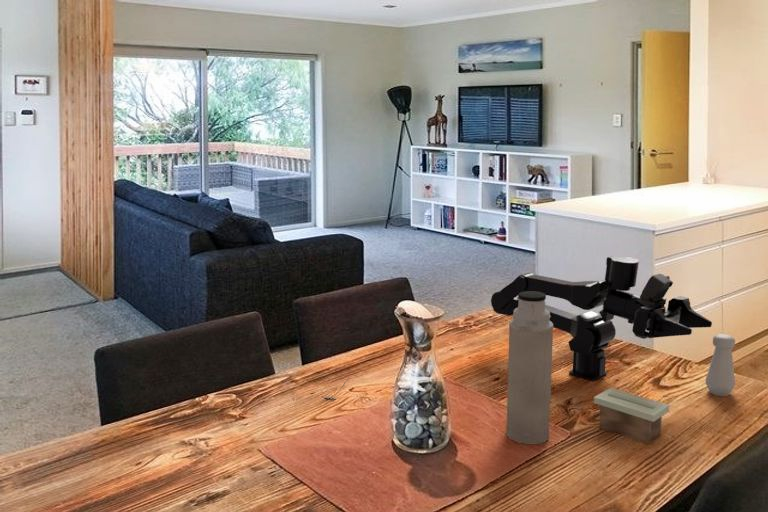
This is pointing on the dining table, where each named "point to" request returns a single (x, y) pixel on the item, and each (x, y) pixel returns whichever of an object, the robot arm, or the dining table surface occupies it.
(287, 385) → the dining table surface
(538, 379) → the thermos bottle
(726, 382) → the salt shaker
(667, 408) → the lid
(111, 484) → the dining table surface
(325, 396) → the fork
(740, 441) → the dining table surface
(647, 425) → the box
